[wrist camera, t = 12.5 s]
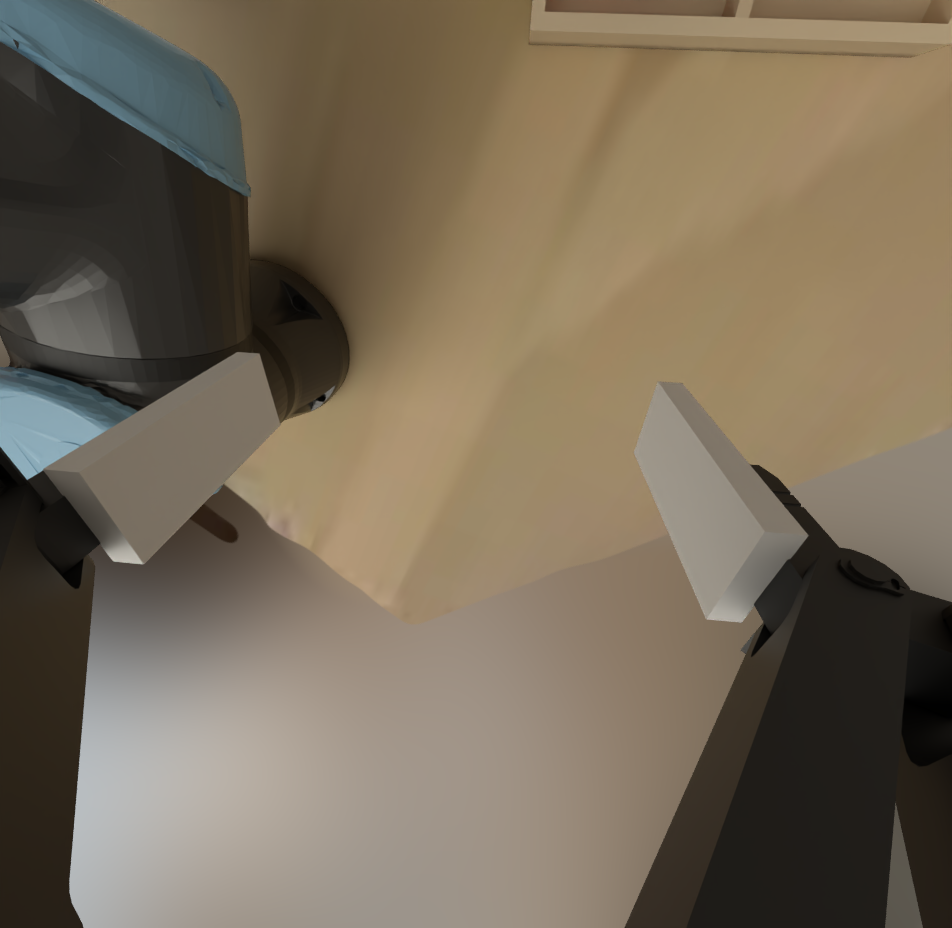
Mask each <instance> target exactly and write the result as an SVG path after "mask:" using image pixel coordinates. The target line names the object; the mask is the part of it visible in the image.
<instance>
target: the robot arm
mask: <svg viewBox="0 0 952 928" xmlns="http://www.w3.org/2000/svg"><path fill="white" fill-rule="evenodd" d="M250 195H251V188H250V186H249V185H248V184H247V181H246V171H245V161H244V150H243V140H242V130H241V120H240V115H239V111H238V108H237V105H236V103H235V101H234V99H233V97H232V95H231V93H230V91H229V90H228V88H227V87H226V85H225V84H224V83H223V82H222V80H221V79H220V78H219V77H218V76H217V75H216V74H215V73H214V72H213V71H212V70H211V69H210V68H209V67H208V66H207V65H205V64H204V63H203V62H201V61H200V60H198V59H197V58H195V57H193V56H192V55H190V54H189V53H187V52H185V51H184V50H182V49H180V48H179V47H177V46H175V45H173V44H172V43H170V42H168V41H166V40H165V39H163V38H161V37H159V36H158V35H156V34H154V33H152V32H151V31H149V30H147V29H145V28H143V27H142V26H140V25H138V24H136V23H134V22H133V21H131V20H129V19H127V18H125V17H124V16H122V15H120V14H118V13H116V12H114V11H113V10H111V9H109V8H107V7H105V6H103V5H102V4H100V3H98V2H96V1H94V0H0V336H1V338H2V341H3V344H4V346H5V348H6V350H7V353H8V355H9V358H10V364H9V366H8V367H5V368H3V367H0V928H83V924H82V922H81V920H80V918H79V916H78V914H77V913H76V911H75V909H74V907H73V905H72V903H71V898H70V893H69V877H70V866H71V853H72V841H73V830H74V817H75V804H76V793H77V781H78V769H79V768H78V767H79V757H80V744H81V733H82V720H83V708H84V696H85V684H86V672H87V660H88V647H89V636H90V624H91V612H92V599H93V587H94V575H95V565H94V562H93V560H92V559H91V558H90V556H89V555H88V554H89V553H90V552H91V551H92V550H93V549H94V548H96V547H97V546H98V545H99V544H100V545H101V546H102V547H103V549H104V550H105V551H106V552H107V554H108V555H109V556H110V558H111V559H112V560H113V561H115V562H125V563H136V564H145V562H147V561H148V560H149V559H150V558H151V556H152V555H153V554H154V553H155V552H156V551H157V550H158V549H159V548H160V547H161V546H162V545H163V544H164V543H165V542H166V541H167V540H168V539H169V538H170V537H171V536H172V535H173V534H174V533H175V532H176V531H177V530H178V529H179V528H180V527H181V526H182V525H183V524H184V523H185V522H186V521H187V520H188V519H189V518H190V517H191V516H192V515H193V514H194V513H195V512H196V511H197V510H198V509H199V508H200V507H201V506H202V504H203V503H204V502H205V501H206V500H207V499H208V498H209V497H210V496H211V495H212V494H215V493H217V492H218V491H219V490H220V489H221V487H222V484H223V483H224V482H225V481H226V480H227V479H228V478H229V477H230V476H231V475H232V474H233V473H234V472H235V471H236V470H237V469H238V468H239V467H240V466H241V465H242V464H243V463H244V462H245V461H246V460H247V459H248V458H249V457H250V456H251V455H252V454H253V452H254V451H255V450H256V449H257V448H258V447H259V446H260V445H261V444H262V443H263V442H264V441H265V440H266V439H267V438H268V437H269V436H270V435H271V434H272V433H273V432H274V431H275V430H276V429H277V428H278V427H279V426H280V424H281V423H282V422H283V421H284V420H287V419H290V418H293V417H296V416H299V415H302V414H305V413H308V412H311V411H313V410H315V409H317V408H319V407H321V406H322V405H323V404H325V403H326V402H327V401H328V400H329V399H330V398H331V397H332V396H333V395H334V394H335V393H336V391H337V390H338V389H339V388H340V386H341V385H342V383H343V381H344V379H345V377H346V374H347V370H348V365H349V349H348V343H347V338H346V335H345V332H344V329H343V326H342V324H341V322H340V320H339V318H338V316H337V314H336V312H335V311H334V309H333V308H332V306H331V305H330V304H329V302H328V301H327V300H326V299H325V297H324V296H323V295H322V294H321V293H320V292H319V291H318V290H317V289H316V288H315V287H314V286H313V285H312V284H310V283H309V282H308V281H307V280H305V279H304V278H303V277H301V276H300V275H298V274H296V273H295V272H293V271H291V270H289V269H287V268H285V267H283V266H280V265H277V264H274V263H271V262H266V261H260V260H250V254H249V232H248V197H250ZM634 454H635V456H636V459H637V461H638V463H639V466H640V468H641V470H642V473H643V475H644V477H645V479H646V482H647V484H648V486H649V489H650V491H651V493H652V496H653V498H654V500H655V502H656V505H657V507H658V509H659V512H660V514H661V516H662V519H663V521H664V523H665V525H666V528H667V530H668V532H669V535H670V537H671V539H672V542H673V544H674V546H675V548H676V551H677V553H678V555H679V558H680V560H681V562H682V564H683V567H684V569H685V571H686V574H687V576H688V578H689V581H690V583H691V585H692V588H693V590H694V592H695V594H696V597H697V599H698V601H699V604H700V606H701V608H702V611H703V613H704V615H705V617H706V619H710V620H720V621H732V622H742V621H743V620H744V619H745V617H746V616H747V615H748V613H749V612H750V611H751V610H752V608H753V607H754V606H755V607H756V609H757V611H758V613H759V615H760V616H761V618H762V620H763V624H762V625H761V626H760V627H759V628H758V630H757V631H756V632H755V633H754V634H753V636H752V637H751V638H750V639H749V640H748V642H747V643H746V644H745V645H744V647H743V648H742V649H741V651H743V652H744V653H745V654H746V655H745V657H744V660H743V662H742V664H741V666H740V669H739V671H738V673H737V675H736V678H735V680H734V682H733V684H732V687H731V689H730V691H729V693H728V696H727V698H726V700H725V702H724V705H723V707H722V709H721V711H720V714H719V716H718V718H717V720H716V723H715V725H714V727H713V729H712V732H711V734H710V736H709V738H708V741H707V743H706V745H705V748H704V750H703V752H702V754H701V756H700V759H699V761H698V763H697V766H696V768H695V770H694V772H693V775H692V777H691V779H690V781H689V784H688V786H687V788H686V790H685V793H684V795H683V797H682V799H681V802H680V804H679V806H678V808H677V811H676V813H675V815H674V817H673V820H672V822H671V824H670V826H669V829H668V831H667V833H666V836H665V838H664V840H663V842H662V844H661V847H660V849H659V852H658V854H657V856H656V858H655V860H654V863H653V865H652V867H651V869H650V871H649V874H648V876H647V878H646V881H645V883H644V885H643V887H642V890H641V892H640V894H639V896H638V899H637V901H636V903H635V905H634V908H633V910H632V912H631V914H630V917H629V919H628V921H627V923H626V926H625V928H885V920H886V907H887V896H888V884H889V872H890V860H891V848H892V836H893V824H894V810H895V801H896V805H897V810H898V815H899V819H900V823H901V828H902V833H903V837H904V842H905V846H906V851H907V856H908V860H909V865H910V869H911V874H912V879H913V884H914V888H915V893H916V897H917V902H918V906H919V911H920V916H921V920H922V925H923V928H952V602H949V601H946V600H942V599H939V598H935V597H932V596H929V595H926V594H922V593H919V592H916V591H912V590H910V588H909V587H908V585H907V584H906V583H905V582H904V581H903V579H902V578H901V577H900V576H899V575H898V574H897V573H895V572H894V571H893V570H891V569H890V568H889V567H887V566H886V565H885V564H883V563H881V562H879V561H877V560H876V559H874V558H872V557H870V556H868V555H865V554H862V553H860V552H857V551H854V550H851V549H845V548H839V547H838V546H837V544H836V543H835V542H834V541H833V540H832V539H831V537H829V535H828V534H827V533H826V532H825V531H824V530H823V529H822V527H821V526H820V525H819V524H818V523H817V522H816V521H815V520H814V518H813V517H812V516H811V515H810V514H809V513H808V512H807V510H806V509H805V508H804V507H801V504H800V503H799V501H798V500H797V499H796V498H795V497H794V496H793V495H790V491H789V490H788V489H787V488H786V487H785V486H784V484H783V483H782V482H781V481H780V480H779V479H778V478H777V477H775V476H774V475H772V474H771V473H770V472H768V471H767V470H765V469H764V468H762V467H761V466H759V465H750V464H749V463H748V462H747V461H746V459H745V458H744V457H743V456H742V455H741V453H740V452H739V451H738V450H737V449H736V447H735V446H734V445H733V444H732V443H731V441H730V440H729V439H728V438H727V437H726V435H725V434H724V433H723V432H722V431H721V429H720V428H719V427H718V426H717V425H716V423H715V422H714V421H713V420H712V418H711V417H710V416H709V415H708V414H707V412H706V411H705V410H704V409H703V408H702V406H701V405H700V404H699V403H698V402H697V400H696V399H695V398H694V397H693V396H692V394H691V393H690V392H689V391H688V390H687V388H686V387H685V386H684V385H683V383H673V382H657V385H656V388H655V391H654V394H653V397H652V400H651V403H650V406H649V409H648V412H647V415H646V418H645V421H644V424H643V427H642V430H641V433H640V436H639V439H638V442H637V445H636V448H635V451H634Z"/></svg>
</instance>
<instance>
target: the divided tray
mask: <svg viewBox="0 0 952 928" xmlns="http://www.w3.org/2000/svg"><path fill="white" fill-rule="evenodd" d="M529 44H532V45H561V46H590V47H620V48H649V49H678V50H707V51H736V52H766V53H795V54H824V55H853V56H882V57H914V56H917V55H920V54H923V53H926V52H929V51H933V50H936V49H939V48H942V47H945V46H948V45H951V44H952V0H532V11H531V23H530V35H529Z"/></svg>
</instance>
